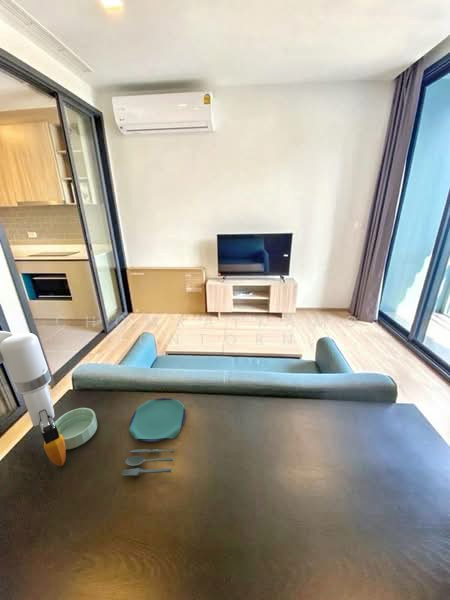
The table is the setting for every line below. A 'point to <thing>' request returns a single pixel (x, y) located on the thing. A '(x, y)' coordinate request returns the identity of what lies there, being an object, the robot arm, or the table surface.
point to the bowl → (77, 426)
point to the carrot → (56, 450)
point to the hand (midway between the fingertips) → (50, 428)
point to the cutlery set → (155, 429)
